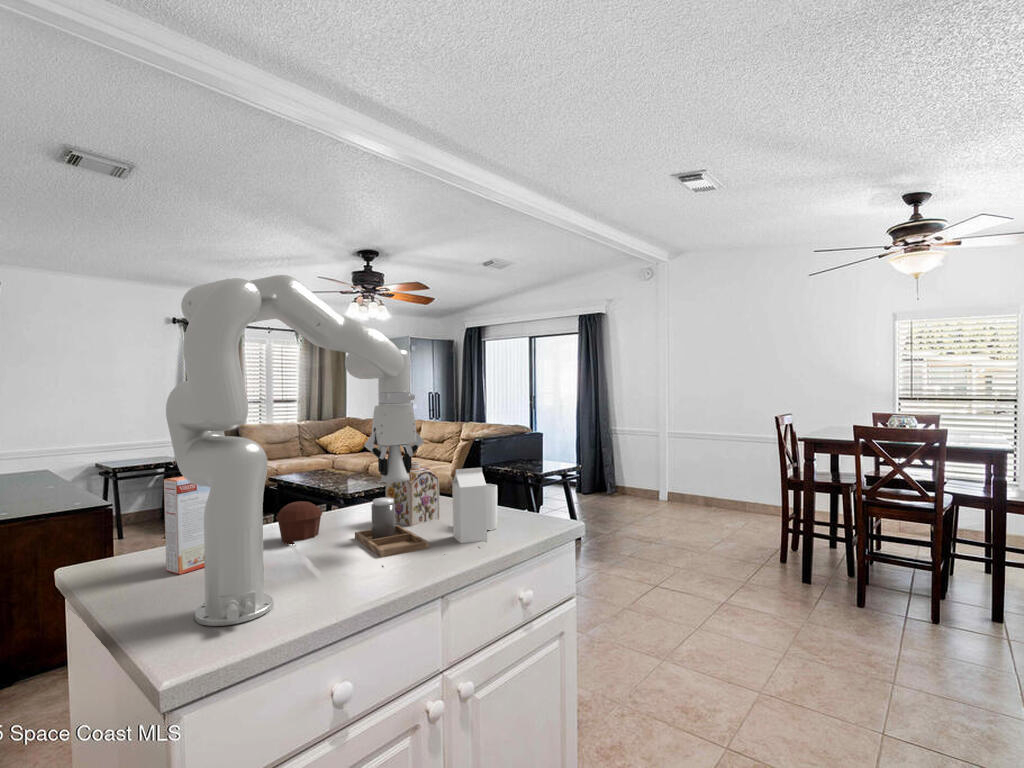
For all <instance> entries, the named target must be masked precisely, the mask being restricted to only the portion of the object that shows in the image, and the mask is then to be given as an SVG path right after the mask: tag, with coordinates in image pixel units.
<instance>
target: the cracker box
mask: <svg viewBox="0 0 1024 768" xmlns="http://www.w3.org/2000/svg"><path fill="white" fill-rule="evenodd" d="M209 492H210V487H205V486H200V485H196V484H193V483H191V482H189V481H188V480H186V479H185V478H184V477H183V475H182V476H175V477H171V478H170V477H169V478H165V479H163V499H164V500H163V501H164V503H163V504H164V505H163V507H164V532H165V534H164V535H165V536H164V537H165V539H164V540H165V568H166V570H165V571H167V572H170V573H173V574H176V575H183V574H186V572H187V573H190V572H192V571H196V570H200V569H203V568H205V566H204V510H205V505H206V502H207V499H208V495H209Z"/></svg>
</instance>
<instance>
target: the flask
mask: <svg viewBox="0 0 1024 768" xmlns="http://www.w3.org/2000/svg"><path fill="white" fill-rule="evenodd" d="M386 459H387V475H385V476H384V475H381V478H380V483H386V482H390V483H392V482H403V481H407V480H409V479H410V477H409V475H408V473H407V471H406V467H405V464H404V461H403V455H402V451H401V446H388V455H387V458H386Z"/></svg>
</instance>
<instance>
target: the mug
mask: <svg viewBox="0 0 1024 768" xmlns="http://www.w3.org/2000/svg"><path fill="white" fill-rule="evenodd" d="M486 485H487V530H489V529H494V528H496V527H497V528H498V485H497V484H492V483H486ZM497 528H496V529H497Z"/></svg>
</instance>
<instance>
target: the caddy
mask: <svg viewBox="0 0 1024 768" xmlns="http://www.w3.org/2000/svg"><path fill="white" fill-rule="evenodd" d="M395 526H396V535H395V536H389V537H383V538H377V539H372V528H371V529H365V530H359V531H355V532H354V539H355V540H356V541H358V542H359V543H360V544H361V545H363V546H365V547H366V548H367V549H369V550H370V551H371V552H373V553H374V554H375V555H377V556H378V557H380V558H381V559H382V558H387V557H392V556H397V555H402V554H406V553H407V554H408V553H412V552H418V551H424V550H428V549H430V542H429V541H428V540H426V539H425V538H423V537H421V536H419V535H418V534H416V533H413V532H412V531H410V530H409V529H406V528H404V527H403V526H401V525H399V524H397V525H396V524H395Z"/></svg>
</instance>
